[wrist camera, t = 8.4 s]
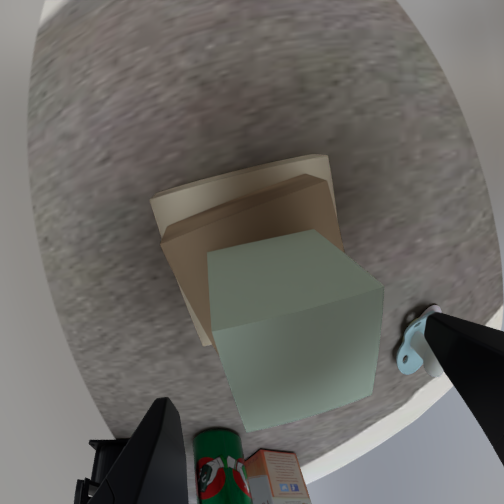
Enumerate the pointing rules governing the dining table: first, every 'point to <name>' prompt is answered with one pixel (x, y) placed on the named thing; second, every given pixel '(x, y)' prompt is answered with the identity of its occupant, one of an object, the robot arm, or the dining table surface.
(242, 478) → the soda can
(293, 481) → the cracker box
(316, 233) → the sage block
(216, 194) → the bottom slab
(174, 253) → the top slab
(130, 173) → the dining table surface
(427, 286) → the dining table surface
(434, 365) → the pacifier
